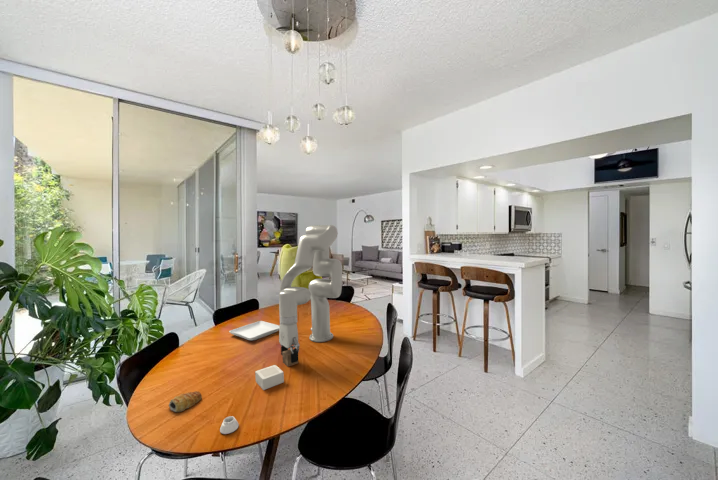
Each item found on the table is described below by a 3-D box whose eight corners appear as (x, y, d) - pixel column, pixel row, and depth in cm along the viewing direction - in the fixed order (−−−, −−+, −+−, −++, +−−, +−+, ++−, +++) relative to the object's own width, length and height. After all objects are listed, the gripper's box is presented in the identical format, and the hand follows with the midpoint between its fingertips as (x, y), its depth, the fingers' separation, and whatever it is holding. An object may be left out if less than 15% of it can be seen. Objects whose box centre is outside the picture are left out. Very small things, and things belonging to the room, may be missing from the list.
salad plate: (260, 325, 176) (260, 319, 176) (283, 331, 164) (283, 326, 164) (228, 336, 159) (227, 330, 159) (250, 344, 147) (250, 338, 146)
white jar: (216, 434, 83) (231, 436, 82) (215, 424, 82) (231, 426, 82) (227, 422, 88) (242, 424, 87) (226, 413, 87) (241, 414, 86)
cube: (282, 362, 125) (282, 351, 125) (293, 359, 129) (292, 348, 128) (287, 366, 122) (287, 355, 121) (298, 363, 125) (297, 351, 124)
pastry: (195, 394, 103) (195, 384, 103) (206, 400, 100) (205, 389, 99) (167, 408, 95) (166, 397, 95) (177, 415, 92) (176, 404, 91)
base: (255, 381, 110) (255, 371, 110) (275, 374, 115) (275, 364, 115) (263, 390, 104) (262, 379, 104) (283, 382, 109) (283, 371, 109)
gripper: (272, 316, 128) (273, 354, 129) (289, 325, 115) (290, 367, 115) (287, 313, 133) (288, 349, 133) (305, 321, 120) (306, 362, 120)
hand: (289, 358), depth 124 cm, fingers open, 9 cm apart
